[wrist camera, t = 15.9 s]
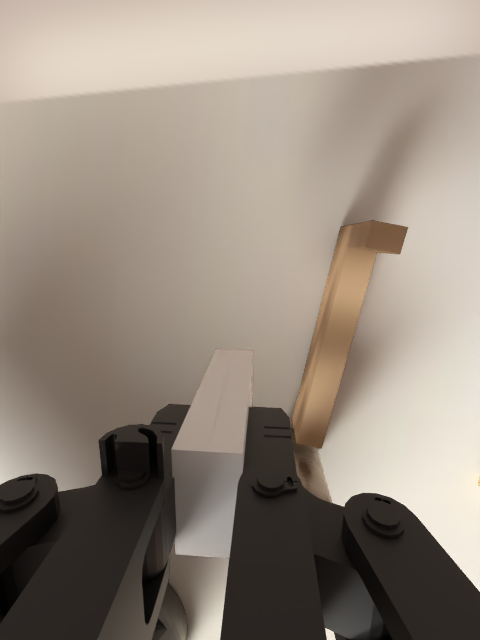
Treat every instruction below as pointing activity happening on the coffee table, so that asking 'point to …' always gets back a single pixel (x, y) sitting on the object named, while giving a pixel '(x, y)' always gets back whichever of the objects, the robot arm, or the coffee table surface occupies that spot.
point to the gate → (339, 323)
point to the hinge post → (310, 469)
